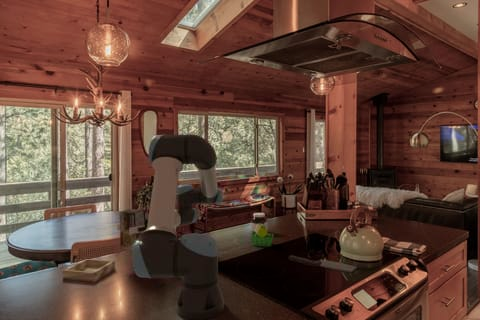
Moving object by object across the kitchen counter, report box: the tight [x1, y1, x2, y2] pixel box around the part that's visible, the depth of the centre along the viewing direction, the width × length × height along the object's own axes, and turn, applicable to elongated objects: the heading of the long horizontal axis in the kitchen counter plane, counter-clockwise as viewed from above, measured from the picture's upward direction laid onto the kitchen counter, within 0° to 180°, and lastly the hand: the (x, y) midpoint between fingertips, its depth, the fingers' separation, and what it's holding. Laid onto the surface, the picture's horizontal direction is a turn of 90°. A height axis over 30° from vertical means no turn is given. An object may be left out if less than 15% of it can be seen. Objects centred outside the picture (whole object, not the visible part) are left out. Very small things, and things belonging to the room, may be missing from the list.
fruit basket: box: [250, 225, 274, 247], centre depth 175 cm, size 11×9×11 cm
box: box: [62, 258, 116, 283], centre depth 137 cm, size 14×14×4 cm
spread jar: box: [250, 212, 269, 234], centre depth 197 cm, size 12×11×12 cm
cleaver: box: [288, 254, 358, 273], centre depth 146 cm, size 29×10×2 cm, turn 60°
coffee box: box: [118, 208, 146, 251], centre depth 143 cm, size 9×6×16 cm
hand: (123, 228), depth 140 cm, fingers closed on coffee box, 10 cm apart
